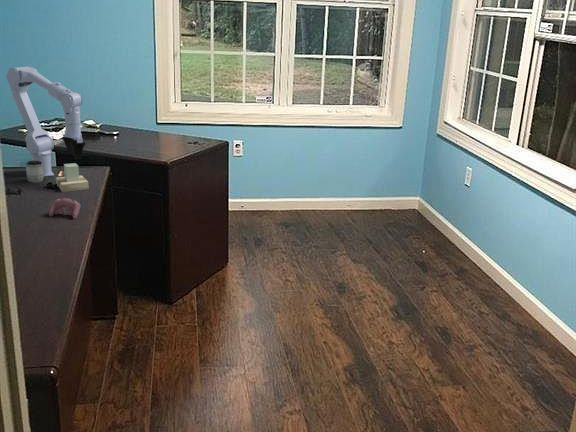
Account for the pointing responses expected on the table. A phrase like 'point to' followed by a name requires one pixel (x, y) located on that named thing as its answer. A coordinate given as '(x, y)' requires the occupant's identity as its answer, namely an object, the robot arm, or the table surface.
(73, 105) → the robot arm
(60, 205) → the video game controller
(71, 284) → the table surface
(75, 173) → the sage block
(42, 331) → the table surface
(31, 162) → the camera lens
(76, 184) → the birch block
